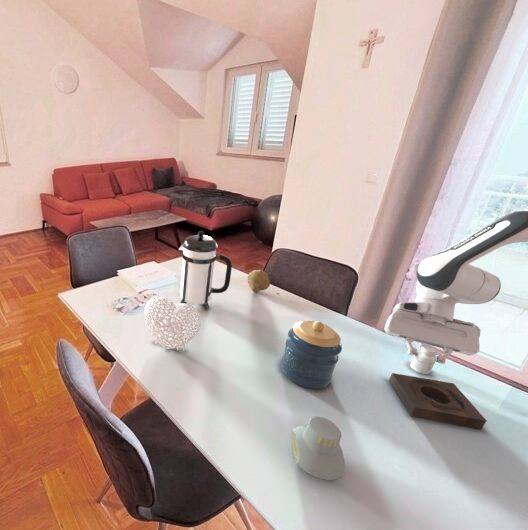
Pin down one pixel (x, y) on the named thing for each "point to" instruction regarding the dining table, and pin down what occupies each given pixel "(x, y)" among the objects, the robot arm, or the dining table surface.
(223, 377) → the dining table surface
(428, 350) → the pill bottle
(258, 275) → the natural sponge
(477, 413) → the socket pad
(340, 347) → the canister
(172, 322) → the decorative heart
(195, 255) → the coffee press
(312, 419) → the air freshener
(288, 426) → the dining table surface
